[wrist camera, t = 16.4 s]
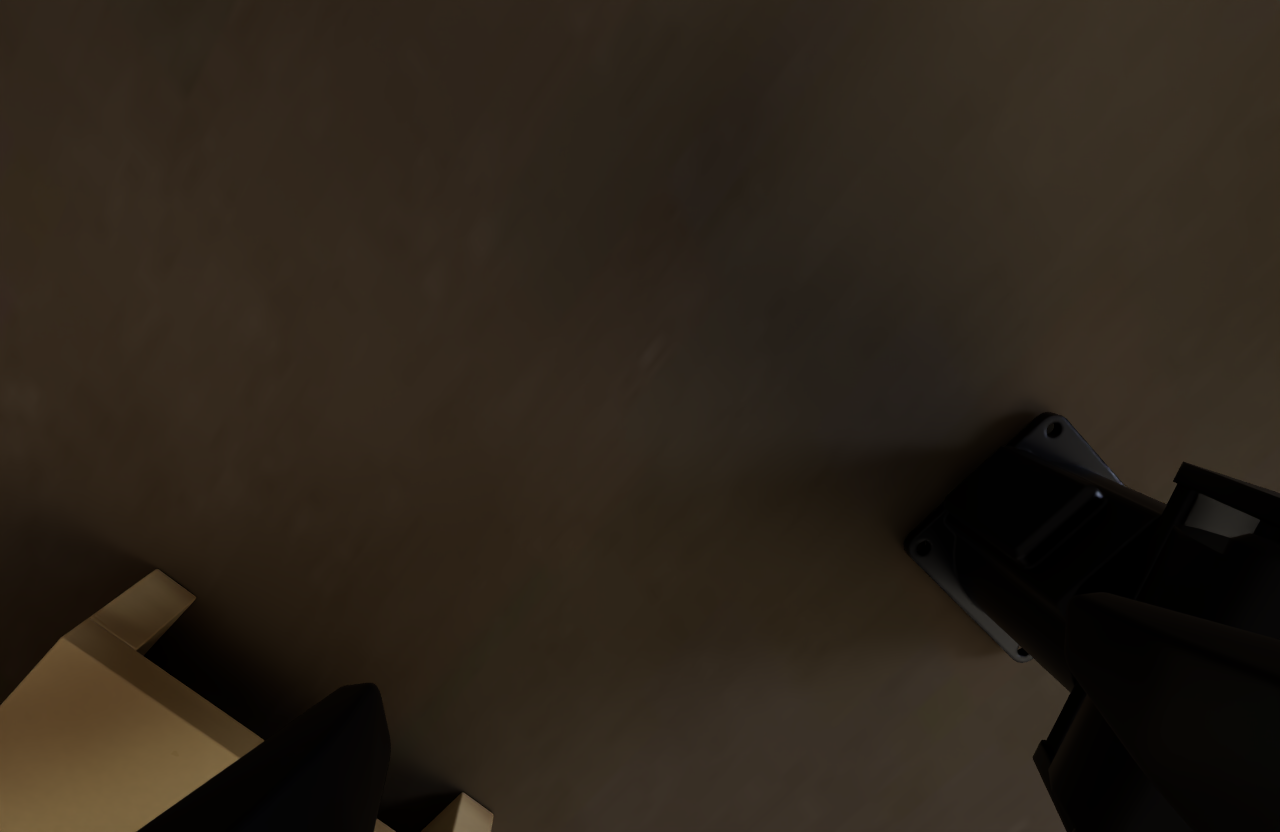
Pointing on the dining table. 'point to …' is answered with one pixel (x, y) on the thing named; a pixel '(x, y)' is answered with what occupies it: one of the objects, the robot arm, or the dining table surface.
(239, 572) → the dining table surface
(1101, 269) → the dining table surface
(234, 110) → the dining table surface
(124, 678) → the shelf
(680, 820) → the dining table surface
